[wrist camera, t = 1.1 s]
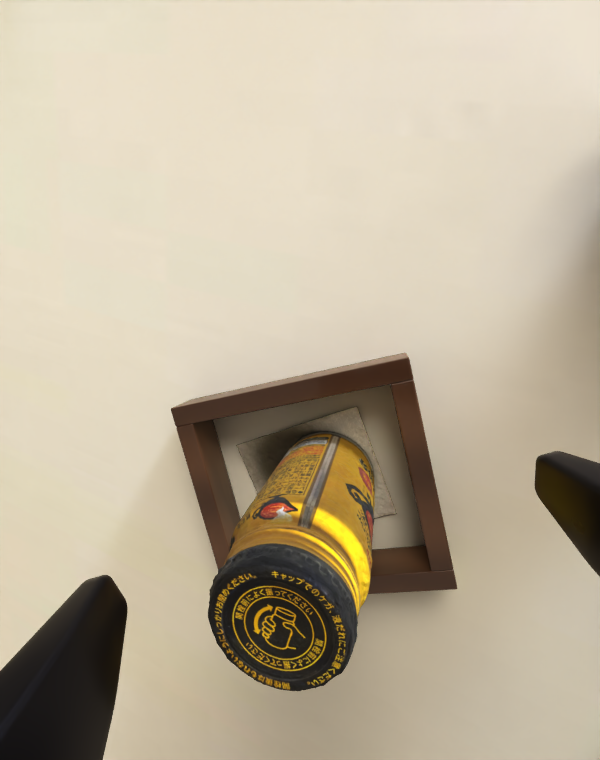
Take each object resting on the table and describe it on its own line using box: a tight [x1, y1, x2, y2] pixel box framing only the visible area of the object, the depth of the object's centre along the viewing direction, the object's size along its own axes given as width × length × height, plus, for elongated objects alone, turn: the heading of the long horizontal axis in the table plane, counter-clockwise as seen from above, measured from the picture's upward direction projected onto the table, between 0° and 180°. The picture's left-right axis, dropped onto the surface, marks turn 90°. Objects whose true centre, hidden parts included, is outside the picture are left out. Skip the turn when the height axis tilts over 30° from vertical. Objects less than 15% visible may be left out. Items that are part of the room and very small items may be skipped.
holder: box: [171, 353, 457, 594], centre depth 22 cm, size 13×14×2 cm
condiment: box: [208, 407, 396, 691], centre depth 18 cm, size 7×8×12 cm
